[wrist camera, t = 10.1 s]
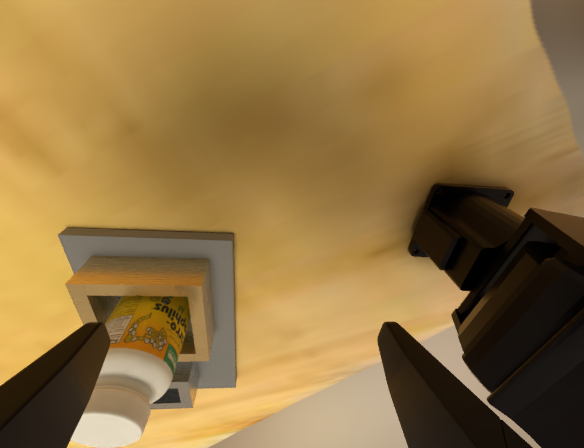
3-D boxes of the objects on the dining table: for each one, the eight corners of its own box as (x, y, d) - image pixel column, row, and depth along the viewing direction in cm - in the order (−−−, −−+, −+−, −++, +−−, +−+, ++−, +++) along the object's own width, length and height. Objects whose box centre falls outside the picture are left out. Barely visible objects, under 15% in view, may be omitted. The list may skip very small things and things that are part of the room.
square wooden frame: (209, 258, 21) (201, 285, 18) (215, 330, 25) (209, 361, 22) (91, 255, 20) (65, 283, 17) (118, 331, 24) (100, 363, 21)
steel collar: (196, 350, 26) (188, 381, 24) (199, 376, 28) (192, 407, 26) (147, 351, 26) (134, 383, 23) (155, 377, 28) (144, 409, 25)
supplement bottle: (113, 286, 21) (14, 424, 13) (171, 263, 21) (106, 394, 12) (155, 325, 24) (96, 461, 16) (208, 306, 23) (174, 438, 15)
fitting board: (233, 233, 21) (232, 240, 20) (236, 378, 31) (235, 387, 30) (67, 227, 19) (57, 234, 19) (126, 381, 29) (122, 390, 28)
